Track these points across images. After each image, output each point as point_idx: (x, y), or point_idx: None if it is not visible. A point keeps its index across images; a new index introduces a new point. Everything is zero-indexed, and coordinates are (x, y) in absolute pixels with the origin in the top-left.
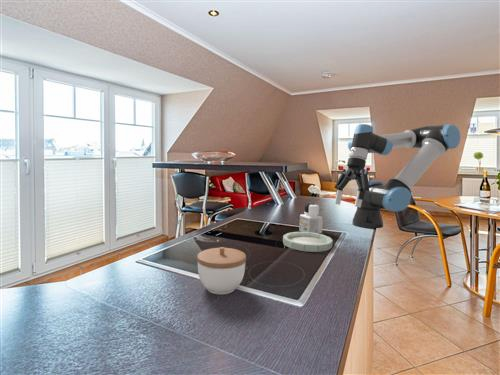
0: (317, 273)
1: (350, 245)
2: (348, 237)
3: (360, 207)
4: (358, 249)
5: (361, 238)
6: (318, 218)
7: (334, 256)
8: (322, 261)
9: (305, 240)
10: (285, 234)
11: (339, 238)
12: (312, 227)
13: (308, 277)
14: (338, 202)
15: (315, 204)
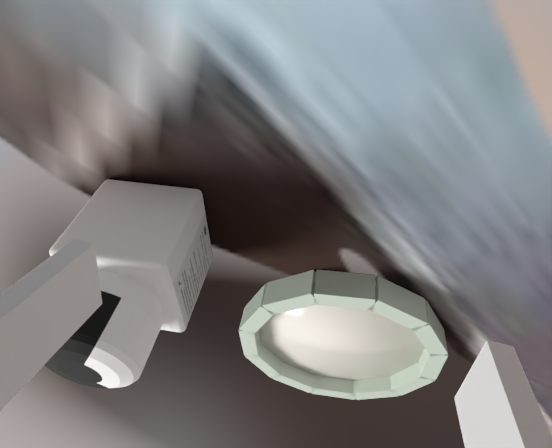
0: None
1: (470, 228)
2: (345, 113)
3: (512, 348)
4: (543, 244)
5: (421, 34)
6: (175, 287)
7: None
8: None
9: (322, 337)
10: (262, 370)
11: (335, 182)
12: (199, 270)
13: None
14: (81, 283)
15: (76, 359)
